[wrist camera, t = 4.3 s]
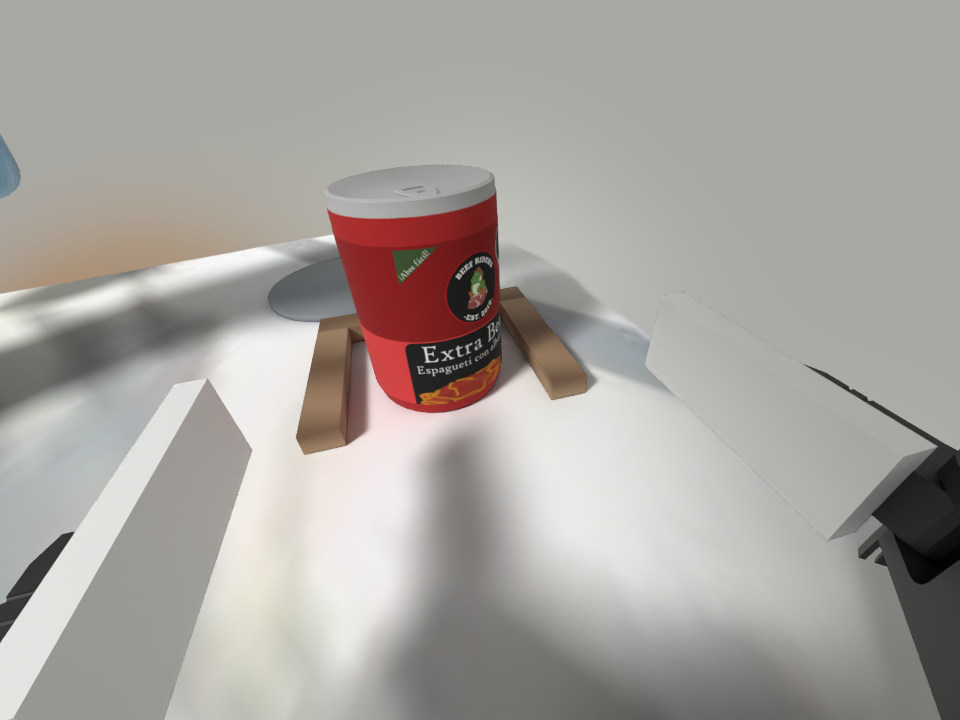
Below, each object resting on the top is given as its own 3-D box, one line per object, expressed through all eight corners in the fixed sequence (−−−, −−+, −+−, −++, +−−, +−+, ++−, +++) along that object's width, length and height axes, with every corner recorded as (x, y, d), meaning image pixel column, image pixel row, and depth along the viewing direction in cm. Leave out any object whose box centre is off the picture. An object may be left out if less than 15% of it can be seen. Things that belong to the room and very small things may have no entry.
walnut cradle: (585, 392, 21) (587, 375, 20) (304, 454, 18) (295, 437, 18) (516, 300, 30) (516, 286, 30) (325, 333, 28) (320, 319, 27)
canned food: (431, 439, 19) (386, 211, 12) (353, 375, 24) (290, 186, 17) (529, 369, 23) (533, 171, 16) (445, 326, 28) (423, 160, 21)
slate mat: (238, 306, 33) (235, 300, 32) (342, 254, 42) (341, 249, 42) (352, 334, 28) (349, 327, 27) (442, 268, 37) (441, 262, 36)
